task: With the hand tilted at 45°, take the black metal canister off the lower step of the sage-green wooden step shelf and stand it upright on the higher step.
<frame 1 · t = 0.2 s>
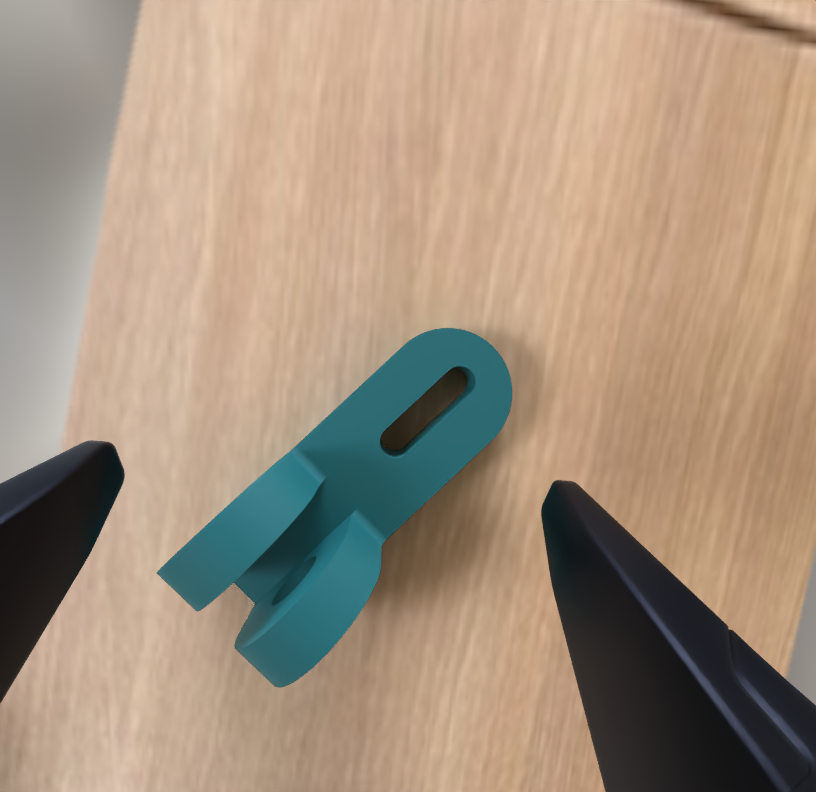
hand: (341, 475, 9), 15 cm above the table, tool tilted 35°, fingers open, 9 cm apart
bracket: (369, 458, 24), on the table
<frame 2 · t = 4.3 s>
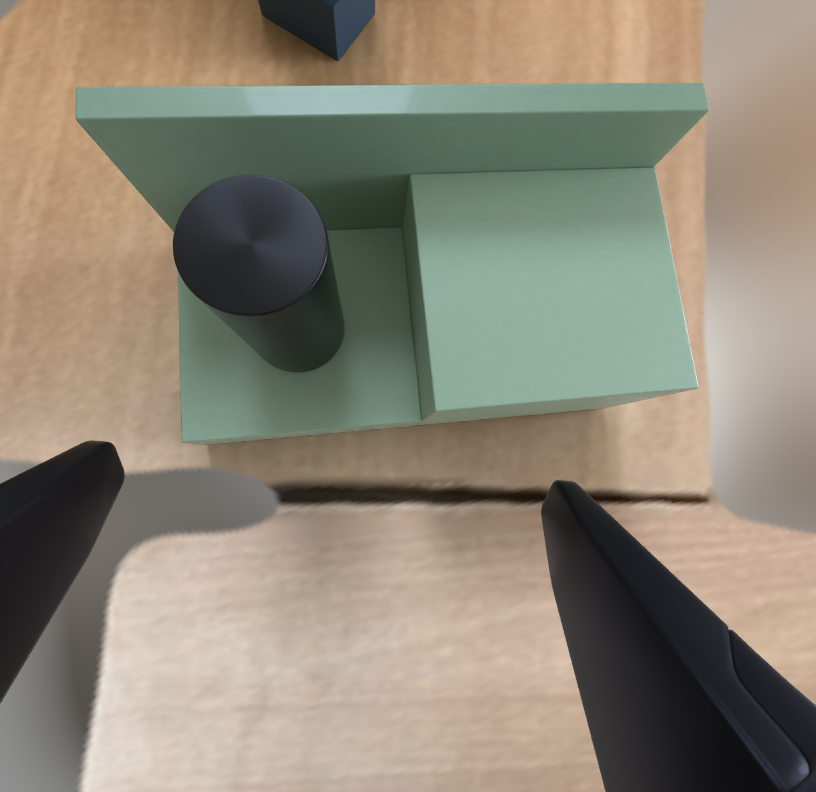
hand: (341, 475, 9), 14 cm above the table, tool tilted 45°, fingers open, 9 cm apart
step shelf: (406, 337, 23), on the table
watch: (319, 16, 26), on the table
black canister: (298, 327, 20), point 3 cm above the table, touching step shelf
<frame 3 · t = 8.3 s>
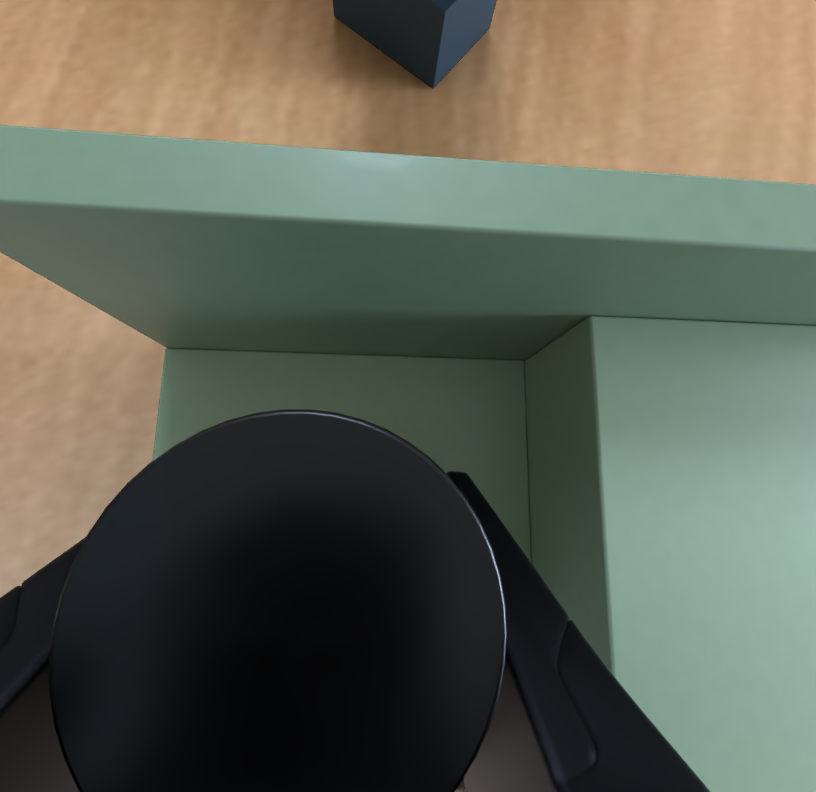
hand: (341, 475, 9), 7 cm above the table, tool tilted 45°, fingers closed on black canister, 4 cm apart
step shelf: (500, 511, 15), on the table
watch: (413, 24, 19), on the table
black canister: (344, 522, 12), point 3 cm above the table, touching gripper, step shelf
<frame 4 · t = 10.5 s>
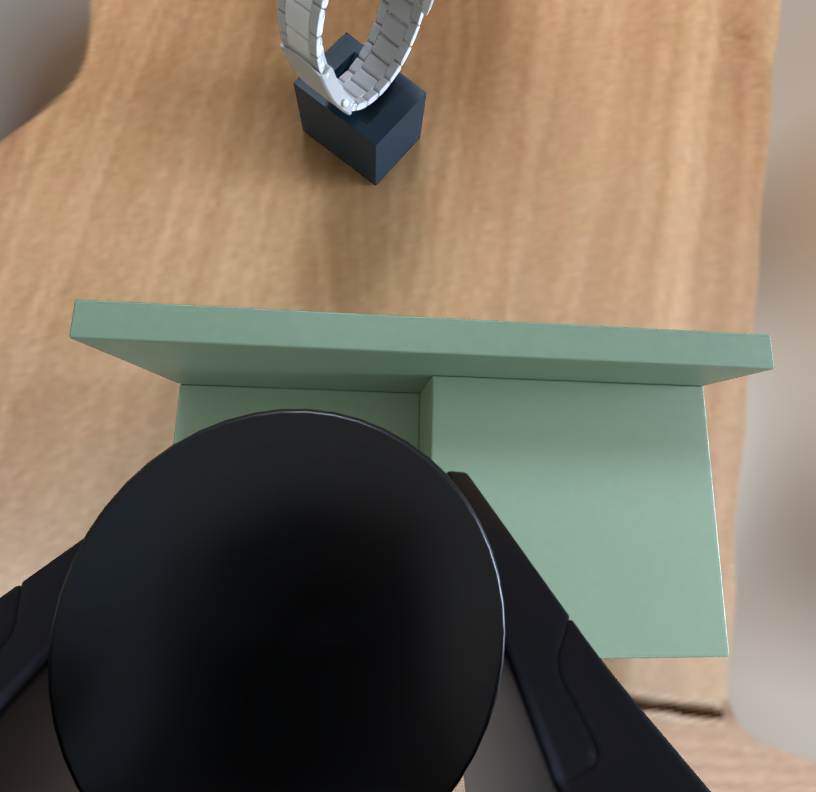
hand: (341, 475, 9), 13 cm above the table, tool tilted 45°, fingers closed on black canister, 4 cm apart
step shelf: (412, 495, 22), on the table
watch: (362, 135, 25), on the table
black canister: (343, 521, 12), point 10 cm above the table, touching gripper
when the fingers open (11 cm above the table, at t = 13.1 s): black canister stays where it is, resting on step shelf.
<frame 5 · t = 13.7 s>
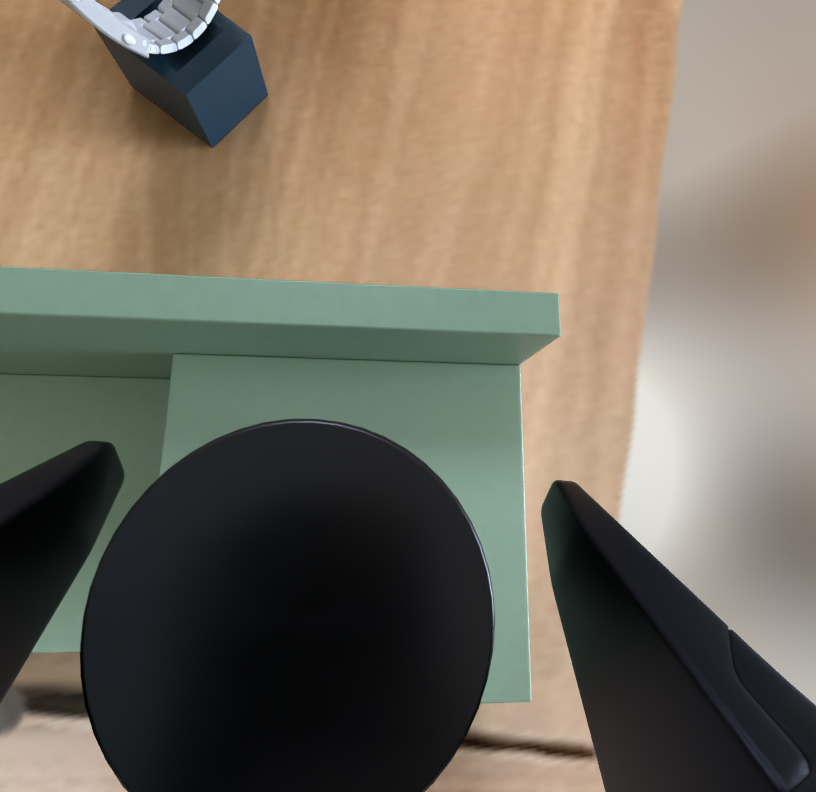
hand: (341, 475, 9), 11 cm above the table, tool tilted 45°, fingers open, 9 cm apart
step shelf: (233, 501, 19), on the table
watch: (202, 92, 22), on the table
black canister: (345, 522, 12), point 7 cm above the table, touching step shelf
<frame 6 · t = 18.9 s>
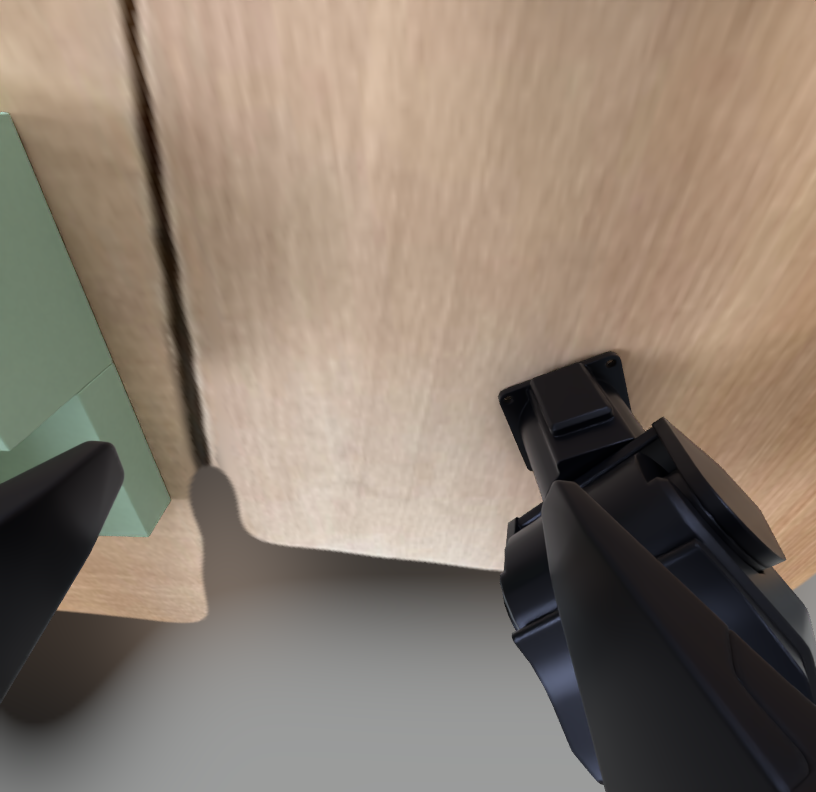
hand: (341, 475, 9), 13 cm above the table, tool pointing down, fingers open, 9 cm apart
step shelf: (18, 357, 22), on the table
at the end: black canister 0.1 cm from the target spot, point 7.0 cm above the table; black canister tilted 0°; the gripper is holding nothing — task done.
